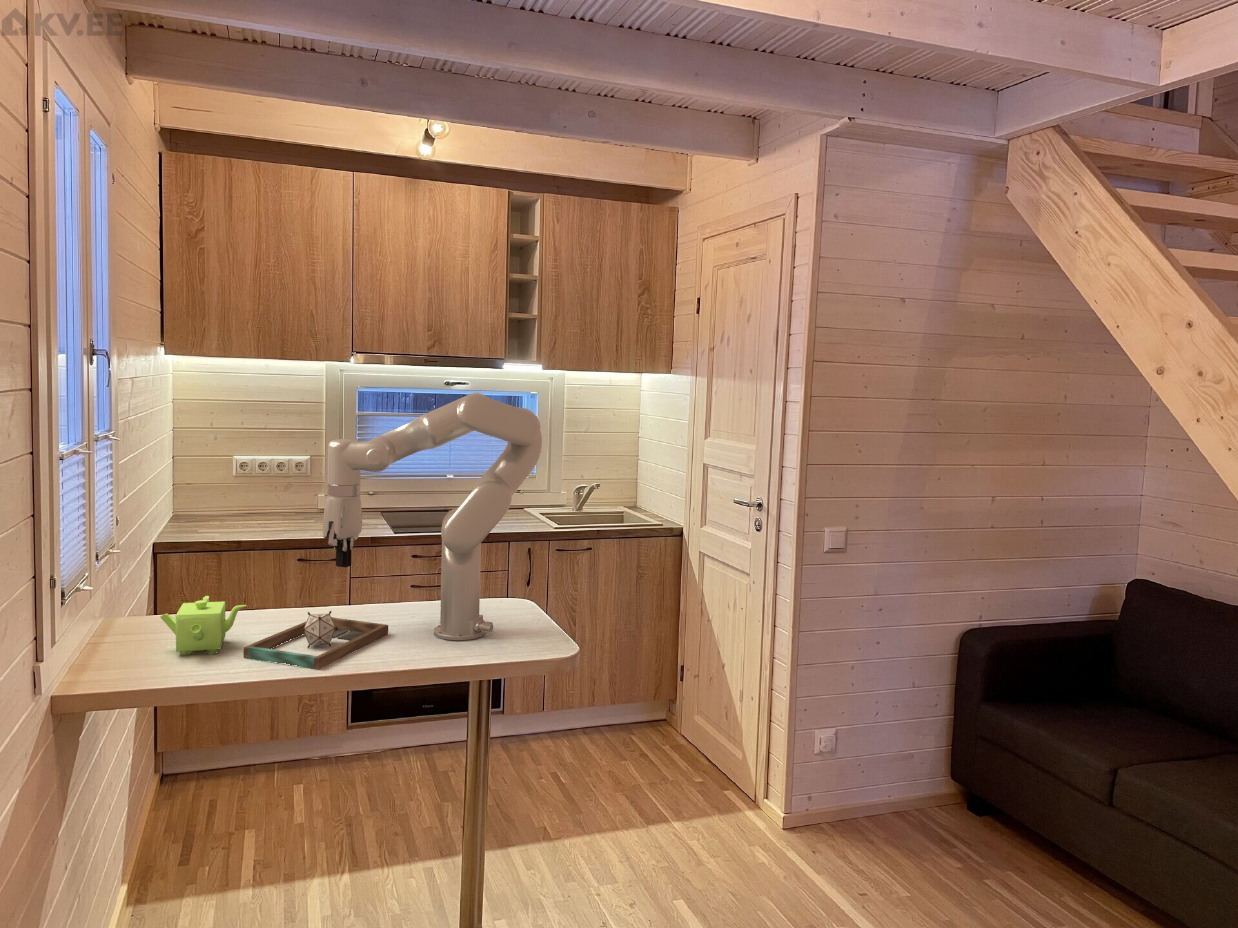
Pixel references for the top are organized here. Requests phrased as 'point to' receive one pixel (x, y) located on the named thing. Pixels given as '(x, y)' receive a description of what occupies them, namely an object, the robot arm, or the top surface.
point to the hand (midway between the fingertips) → (343, 566)
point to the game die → (319, 629)
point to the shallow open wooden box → (358, 637)
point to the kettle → (200, 625)
